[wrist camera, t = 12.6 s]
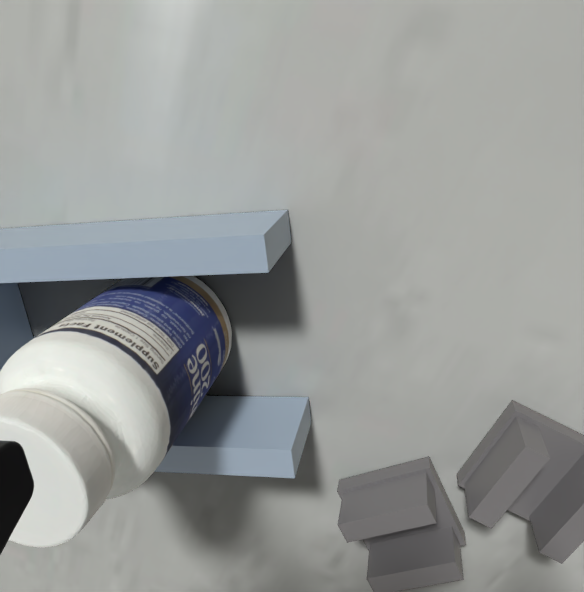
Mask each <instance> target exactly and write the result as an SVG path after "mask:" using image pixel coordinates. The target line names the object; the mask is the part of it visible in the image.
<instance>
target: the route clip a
mask: <svg viewBox="0 0 584 592" xmlns="http://www.w3.org/2000/svg"><path fill="white" fill-rule="evenodd" d="M337 492H338V494H339V496H340V498H341V499H342V502H341V508H340V514H339V520H338V526H339V528H340V530H341V532H342V534H343V536H344V538H345V539H346V541H347V543H348V542H352V541H357V540H361V539H363V541H364V543H365V545H366V547H367V549H368V550H369V559H368V570H367V580H368V582H369V584H370V586H371V588H372V590H373V591H374V592H397V591H403V590H409V589H414V588H420V587H425V586H431V585H436V584H442V583H447V582H453V581H459V580H464V578H463V568H462V559H461V549H460V546H463V545H466V541H465V532H464V530H463V528H462V526H461V524H460V522H459V519H458V517H457V515H456V513H455V511H454V509H453V507H452V504H451V502H450V500H449V498H448V496H447V494H446V492H445V489H444V487H443V485H442V483H441V481H440V479H439V477H438V474H437V472H436V470H435V468H434V466H433V464H432V462H431V459H430V457H426V458H422V459H418V460H414V461H410V462H406V463H403V464H399V465H395V466H391V467H387V468H383V469H379V470H376V471H372V472H368V473H364V474H360V475H356V476H353V477H349V478H345V479H341V480H339V484H338V489H337Z"/></svg>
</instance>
